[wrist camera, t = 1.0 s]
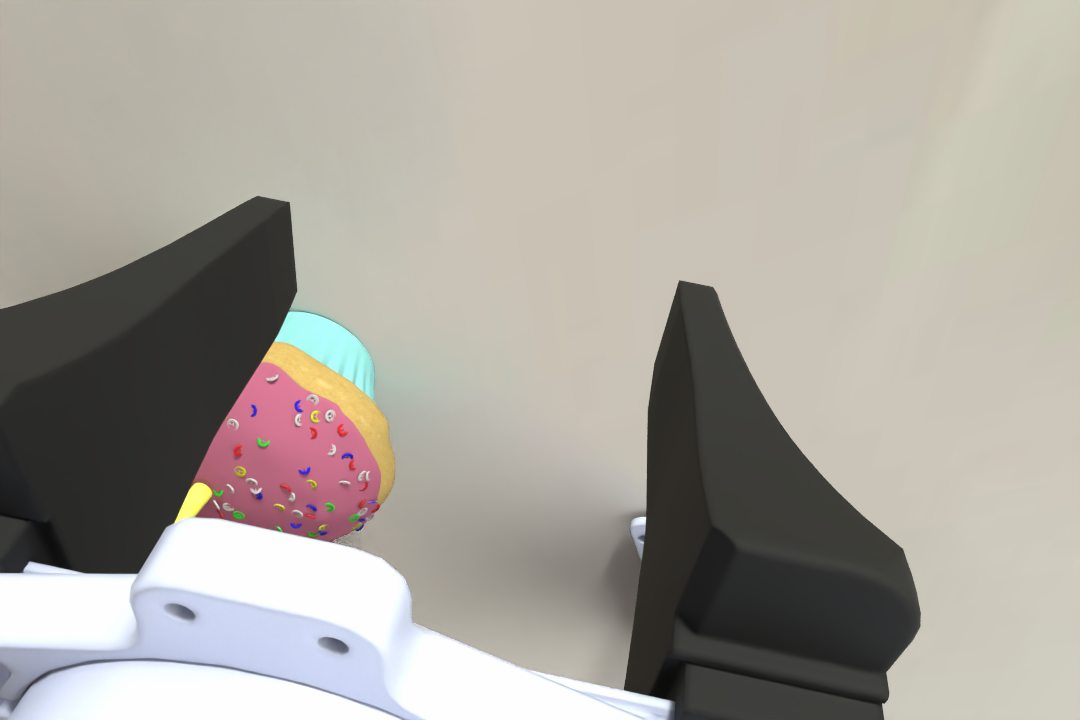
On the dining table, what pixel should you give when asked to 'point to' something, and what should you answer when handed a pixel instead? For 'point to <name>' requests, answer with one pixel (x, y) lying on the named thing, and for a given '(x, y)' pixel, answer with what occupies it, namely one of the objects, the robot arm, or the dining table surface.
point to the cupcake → (300, 440)
